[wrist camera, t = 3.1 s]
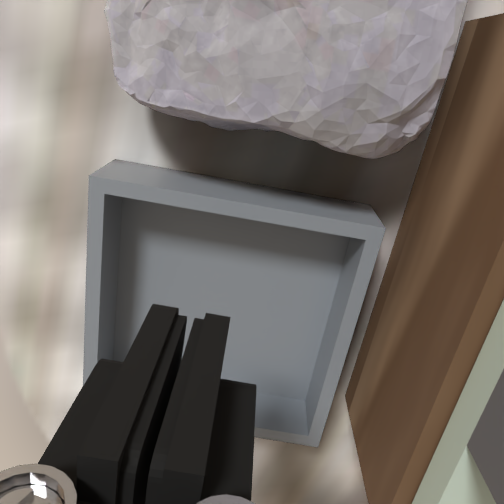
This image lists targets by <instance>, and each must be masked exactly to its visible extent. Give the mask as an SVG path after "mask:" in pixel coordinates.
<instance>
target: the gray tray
mask: <svg viewBox="0 0 504 504" xmlns="http://www.w3.org/2000/svg"><path fill="white" fill-rule="evenodd" d="M385 229H386V228H385V226H384V225H383V223H382V222H381V221H380V219H379V218H378V216H377V215H376V213H375V212H374V210H373V209H372V207H371V206H370V205H367V204H362V203H356V202H350V201H345V200H339V199H334V198H328V197H322V196H317V195H311V194H306V193H300V192H295V191H289V190H283V189H278V188H272V187H267V186H261V185H256V184H250V183H244V182H239V181H233V180H228V179H222V178H217V177H211V176H205V175H200V174H194V173H189V172H183V171H178V170H172V169H166V168H161V167H155V166H150V165H144V164H138V163H133V162H127V161H122V160H116V159H115V160H113V161H112V162H110V163H108V164H107V165H105V166H103V167H102V168H100V169H99V170H97V171H95V172H94V173H92V174H90V175H89V191H88V227H87V262H86V298H85V333H84V369H83V386H84V384H85V382H86V380H87V379H88V377H89V375H90V374H91V372H92V370H93V368H94V367H95V365H96V364H97V362H98V361H99V360H100V359H108V360H114V361H120V362H124V360H125V358H126V356H127V354H128V352H129V350H130V348H131V346H132V344H133V342H134V340H135V338H136V336H137V334H138V332H139V330H140V328H141V326H142V324H143V322H144V320H145V318H146V316H147V314H148V312H149V310H150V308H151V306H152V304H159V305H164V306H170V307H176V308H179V315H182V316H187V324H186V331H185V339H184V346H183V353H182V357H183V354H184V351H185V347H186V344H187V341H188V338H189V334H190V331H191V328H192V325H193V321H194V318H200V319H204V317H205V314H206V313H211V314H216V315H222V316H228V317H231V318H230V324H229V330H228V336H227V342H226V348H225V354H224V360H223V366H222V372H221V379H226V380H232V381H238V382H244V383H250V384H256V410H255V430H254V437H257V438H263V439H269V440H276V441H282V442H288V443H294V444H300V445H306V446H312V447H318V446H319V443H320V440H321V436H322V433H323V430H324V427H325V423H326V420H327V417H328V414H329V410H330V407H331V404H332V401H333V397H334V394H335V391H336V388H337V384H338V381H339V378H340V375H341V372H342V368H343V365H344V362H345V359H346V355H347V352H348V349H349V346H350V342H351V339H352V336H353V333H354V329H355V326H356V323H357V320H358V316H359V313H360V310H361V307H362V304H363V300H364V297H365V294H366V291H367V287H368V284H369V281H370V278H371V274H372V271H373V268H374V265H375V261H376V258H377V255H378V252H379V249H380V245H381V242H382V239H383V236H384V232H385Z"/></svg>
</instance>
